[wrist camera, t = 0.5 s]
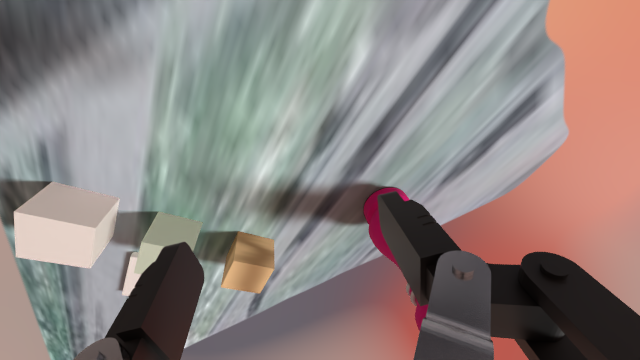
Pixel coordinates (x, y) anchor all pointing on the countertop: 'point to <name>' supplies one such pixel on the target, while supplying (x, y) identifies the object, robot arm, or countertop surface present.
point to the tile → (131, 275)
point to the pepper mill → (379, 241)
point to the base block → (65, 225)
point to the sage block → (165, 237)
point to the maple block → (248, 263)
